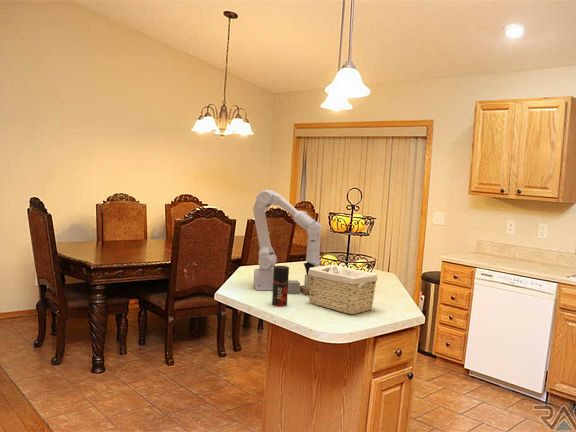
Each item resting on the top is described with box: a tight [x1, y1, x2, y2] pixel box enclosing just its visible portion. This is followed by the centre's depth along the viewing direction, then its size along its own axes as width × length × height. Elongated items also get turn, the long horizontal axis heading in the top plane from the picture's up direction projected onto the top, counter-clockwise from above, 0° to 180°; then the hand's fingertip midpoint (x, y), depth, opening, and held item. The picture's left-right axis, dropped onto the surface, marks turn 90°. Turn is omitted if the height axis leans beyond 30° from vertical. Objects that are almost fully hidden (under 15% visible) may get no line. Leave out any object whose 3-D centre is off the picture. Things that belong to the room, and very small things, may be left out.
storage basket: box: [308, 264, 379, 315], centre depth 194 cm, size 24×16×15 cm
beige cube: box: [303, 274, 309, 289], centre depth 214 cm, size 5×5×5 cm
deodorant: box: [271, 265, 290, 308], centre depth 192 cm, size 6×6×15 cm
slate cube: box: [288, 279, 301, 295], centre depth 213 cm, size 5×5×5 cm
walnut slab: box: [300, 285, 313, 297], centre depth 214 cm, size 8×8×3 cm
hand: (311, 280), depth 214 cm, fingers open, 5 cm apart
